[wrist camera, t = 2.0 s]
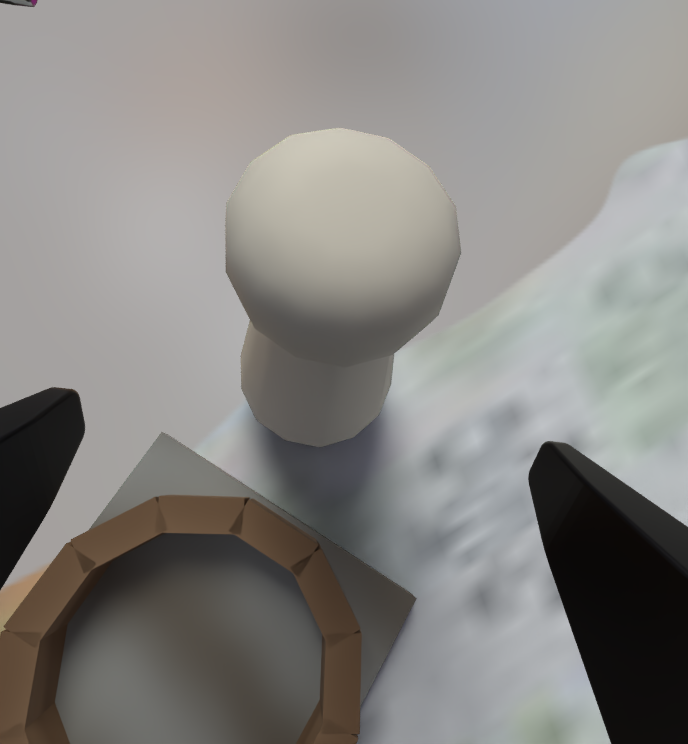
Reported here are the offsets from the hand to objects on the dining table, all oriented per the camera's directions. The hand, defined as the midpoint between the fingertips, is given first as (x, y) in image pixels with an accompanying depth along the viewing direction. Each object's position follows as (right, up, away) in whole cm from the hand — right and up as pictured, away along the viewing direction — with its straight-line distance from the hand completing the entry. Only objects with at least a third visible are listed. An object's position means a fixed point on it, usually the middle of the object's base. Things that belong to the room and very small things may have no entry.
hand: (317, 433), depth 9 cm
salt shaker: (-1, +1, +11) cm, 11 cm away
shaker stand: (-5, -9, +8) cm, 13 cm away
